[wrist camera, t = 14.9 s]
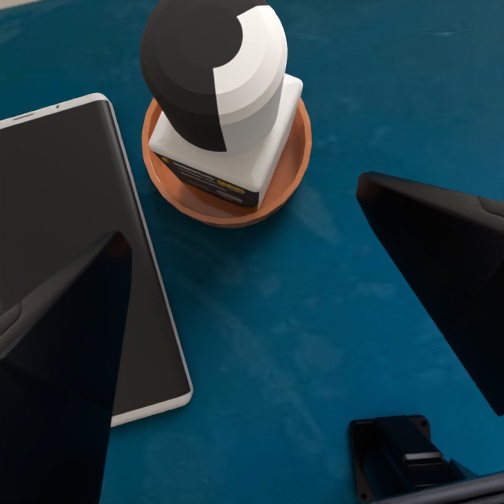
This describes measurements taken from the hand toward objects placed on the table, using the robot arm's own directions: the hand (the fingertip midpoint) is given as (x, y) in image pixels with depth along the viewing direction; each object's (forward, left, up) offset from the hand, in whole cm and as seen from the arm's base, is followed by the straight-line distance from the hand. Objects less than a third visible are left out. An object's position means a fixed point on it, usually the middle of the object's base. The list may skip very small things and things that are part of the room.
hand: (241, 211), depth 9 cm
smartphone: (-1, +15, -13) cm, 20 cm away
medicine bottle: (+7, +1, -12) cm, 14 cm away
